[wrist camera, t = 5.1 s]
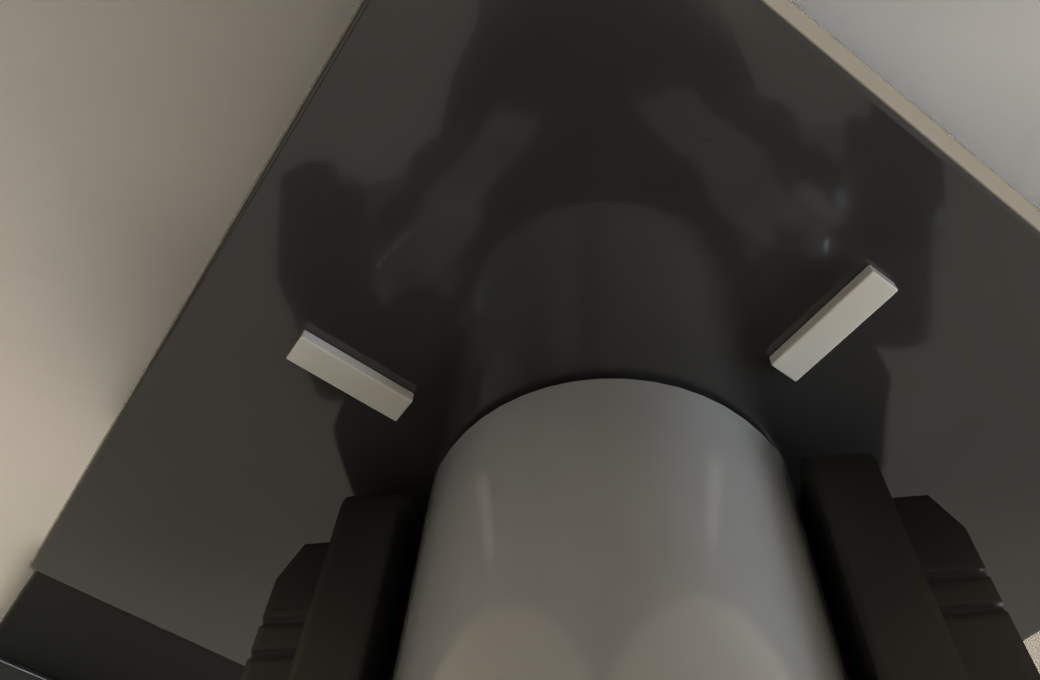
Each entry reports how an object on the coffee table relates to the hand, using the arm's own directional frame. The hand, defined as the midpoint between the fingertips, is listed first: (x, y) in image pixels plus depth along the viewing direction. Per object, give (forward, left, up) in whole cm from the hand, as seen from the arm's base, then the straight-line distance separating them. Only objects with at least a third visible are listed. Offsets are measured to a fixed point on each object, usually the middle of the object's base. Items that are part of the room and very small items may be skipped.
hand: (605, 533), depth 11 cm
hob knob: (0, 0, 0) cm, 0 cm away
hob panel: (0, 0, -3) cm, 3 cm away
